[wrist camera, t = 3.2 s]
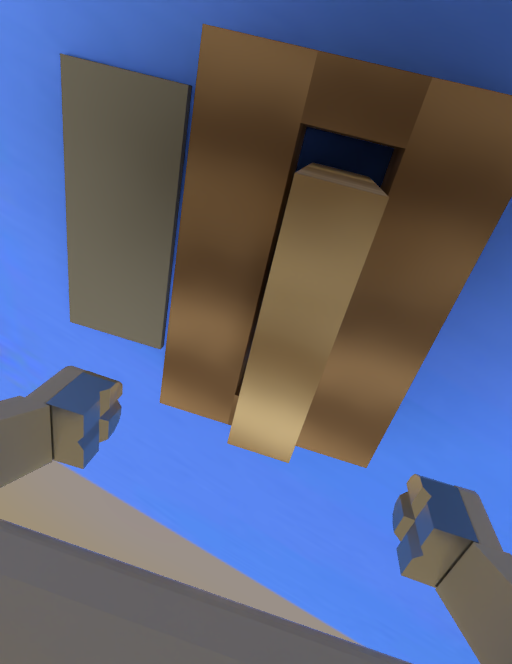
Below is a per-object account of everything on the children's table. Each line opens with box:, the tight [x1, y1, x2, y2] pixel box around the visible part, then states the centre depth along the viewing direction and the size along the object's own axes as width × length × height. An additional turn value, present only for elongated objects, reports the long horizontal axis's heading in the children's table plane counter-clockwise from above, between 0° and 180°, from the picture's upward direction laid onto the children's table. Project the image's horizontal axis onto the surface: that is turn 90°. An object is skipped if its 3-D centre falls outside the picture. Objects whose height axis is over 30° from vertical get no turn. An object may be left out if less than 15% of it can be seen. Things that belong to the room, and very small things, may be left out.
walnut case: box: [160, 24, 512, 468], centre depth 20 cm, size 20×14×4 cm
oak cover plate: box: [227, 162, 389, 463], centre depth 18 cm, size 12×3×9 cm, turn 168°
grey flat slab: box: [60, 54, 192, 349], centre depth 23 cm, size 16×7×1 cm, turn 168°
